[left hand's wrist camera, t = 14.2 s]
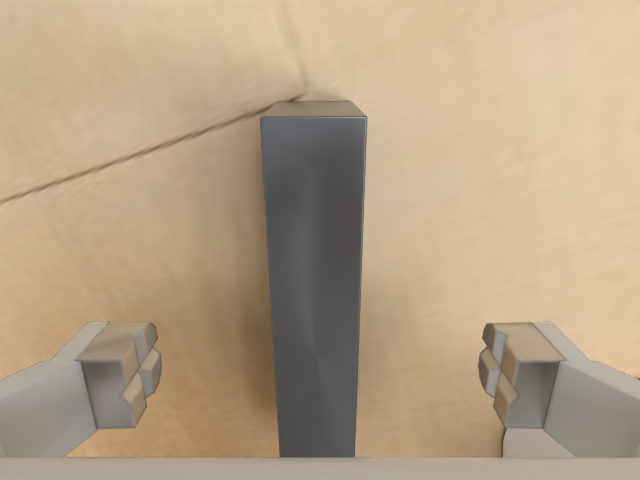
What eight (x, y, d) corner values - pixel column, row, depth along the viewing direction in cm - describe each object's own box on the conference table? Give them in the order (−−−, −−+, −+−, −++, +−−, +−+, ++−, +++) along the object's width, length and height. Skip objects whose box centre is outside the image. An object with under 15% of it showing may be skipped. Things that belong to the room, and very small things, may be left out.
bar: (276, 101, 28) (259, 116, 20) (351, 101, 28) (367, 115, 20) (290, 412, 39) (282, 510, 30) (344, 411, 39) (352, 509, 30)
